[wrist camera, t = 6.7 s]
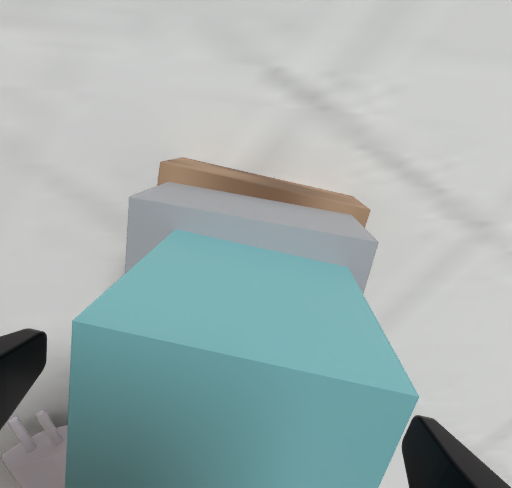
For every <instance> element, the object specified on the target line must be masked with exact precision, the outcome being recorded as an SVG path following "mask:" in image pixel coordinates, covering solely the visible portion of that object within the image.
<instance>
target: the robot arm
mask: <svg viewBox="0 0 512 488" xmlns="http://www.w3.org/2000/svg"><path fill="white" fill-rule="evenodd" d="M46 356H47V335H46V333H45V332H43V331H39V330H35V329H29V328H28V329H23V330H20V331H17V332H14V333H11V334H7V335H4V336H1V337H0V430H1V428H2V427H3V426H4V424H5V423H6V422H7V420H8V419H9V417H10V416H11V415H12V413H13V412H14V410H15V409H16V407H17V406H18V405H19V403H20V402H21V400H22V399H23V398H24V396H25V395H26V393H27V392H28V391H29V389H30V388H31V386H32V385H33V383H34V382H35V381H36V379H37V378H38V376H39V375H40V374H41V372H42V371H43V369H44V367H45V364H46ZM402 453H403V458H404V463H405V468H406V473H407V478H408V484H409V488H511V487H510V486H509V485H508V484H507V483H505V482H504V481H503V480H502V479H501V478H500V477H499V476H498V475H496V474H495V473H494V472H493V471H492V470H491V469H490V468H489V467H487V466H486V465H485V464H484V463H483V462H482V461H481V460H480V459H478V458H477V457H476V456H475V455H474V454H473V453H472V452H471V451H469V450H468V449H467V448H466V447H465V446H464V445H463V444H462V443H460V442H459V441H458V440H457V439H456V438H455V437H454V436H453V435H452V434H450V433H449V432H448V431H447V430H446V429H445V428H444V427H443V426H441V425H440V424H439V423H438V422H437V421H436V420H434V419H432V418H429V417H425V416H420V415H417V416H415V417H413V419H412V421H411V423H410V425H409V427H408V430H407V432H406V434H405V436H404V438H403V441H402Z"/></svg>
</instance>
